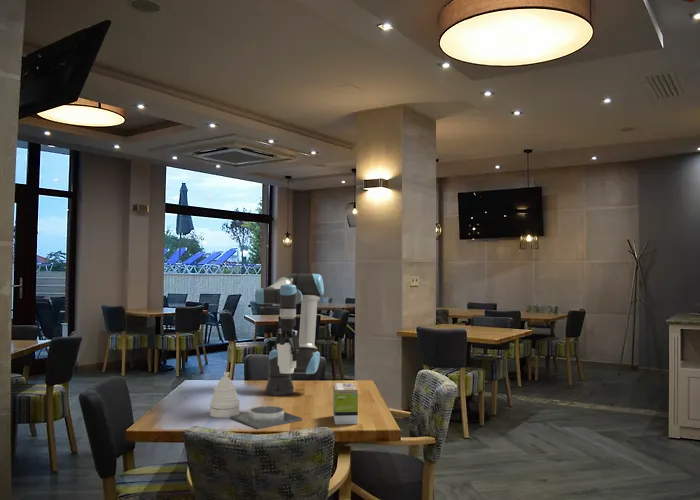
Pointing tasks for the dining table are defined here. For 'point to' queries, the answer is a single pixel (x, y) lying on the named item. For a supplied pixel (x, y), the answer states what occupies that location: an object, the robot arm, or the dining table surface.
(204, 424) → the dining table surface
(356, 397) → the tea box
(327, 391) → the dining table surface
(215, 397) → the honey pot
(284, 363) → the foam cup
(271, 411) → the duct flange
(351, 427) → the dining table surface
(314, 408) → the dining table surface
